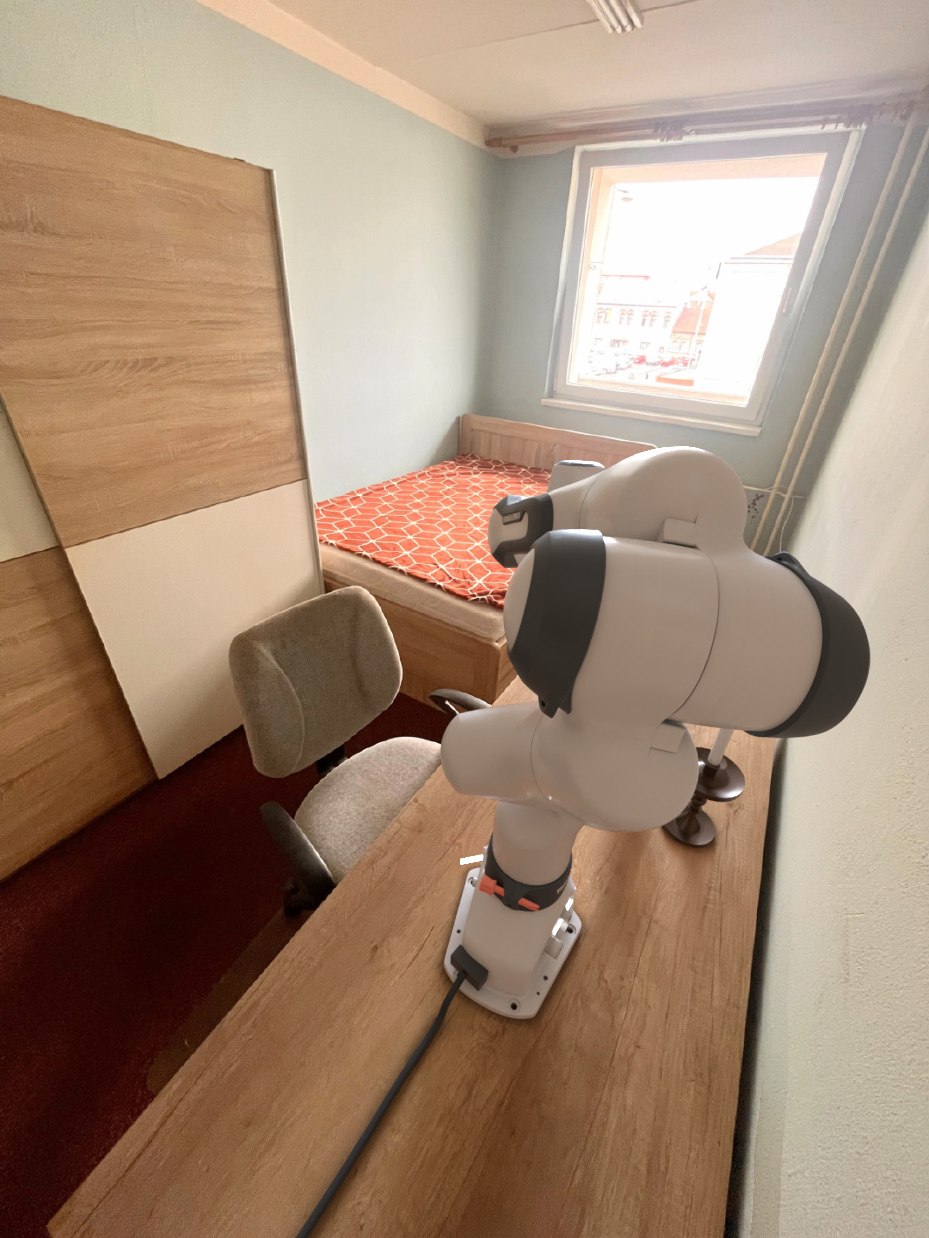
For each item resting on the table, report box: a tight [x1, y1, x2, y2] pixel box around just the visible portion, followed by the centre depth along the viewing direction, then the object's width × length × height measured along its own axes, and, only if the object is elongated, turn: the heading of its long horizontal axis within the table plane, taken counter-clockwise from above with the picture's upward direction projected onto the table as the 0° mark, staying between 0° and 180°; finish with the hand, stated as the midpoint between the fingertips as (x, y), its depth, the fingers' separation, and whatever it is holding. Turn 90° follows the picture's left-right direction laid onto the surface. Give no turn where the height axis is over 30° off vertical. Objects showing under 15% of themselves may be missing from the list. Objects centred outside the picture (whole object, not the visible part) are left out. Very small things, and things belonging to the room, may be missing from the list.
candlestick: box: [662, 728, 746, 849], centre depth 83 cm, size 11×11×35 cm
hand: (555, 633), depth 89 cm, fingers open, 8 cm apart
